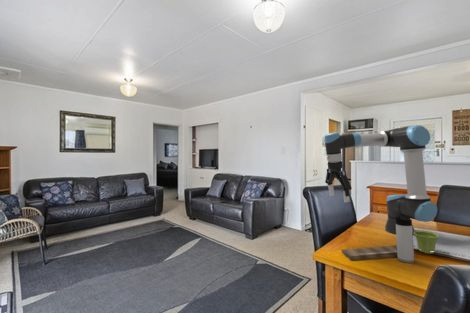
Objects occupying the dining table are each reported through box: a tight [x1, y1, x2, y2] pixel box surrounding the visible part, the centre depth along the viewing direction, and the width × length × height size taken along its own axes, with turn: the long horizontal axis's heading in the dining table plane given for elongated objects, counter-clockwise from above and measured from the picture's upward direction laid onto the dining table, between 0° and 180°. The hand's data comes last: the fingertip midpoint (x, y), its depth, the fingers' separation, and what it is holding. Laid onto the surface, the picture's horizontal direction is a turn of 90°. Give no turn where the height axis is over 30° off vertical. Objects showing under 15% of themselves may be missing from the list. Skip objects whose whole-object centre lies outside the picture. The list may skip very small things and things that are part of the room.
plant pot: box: [413, 230, 439, 254], centre depth 116 cm, size 9×9×9 cm
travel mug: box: [395, 217, 415, 264], centre depth 108 cm, size 6×7×20 cm
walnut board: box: [341, 244, 398, 261], centre depth 115 cm, size 30×8×2 cm, turn 94°
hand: (339, 198), depth 129 cm, fingers open, 13 cm apart
